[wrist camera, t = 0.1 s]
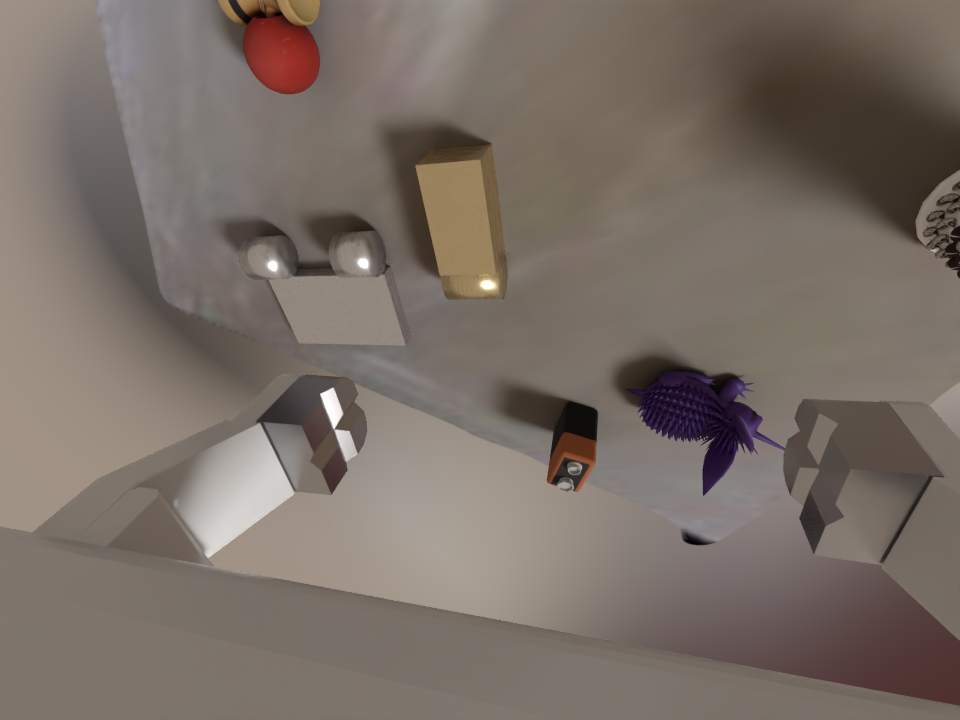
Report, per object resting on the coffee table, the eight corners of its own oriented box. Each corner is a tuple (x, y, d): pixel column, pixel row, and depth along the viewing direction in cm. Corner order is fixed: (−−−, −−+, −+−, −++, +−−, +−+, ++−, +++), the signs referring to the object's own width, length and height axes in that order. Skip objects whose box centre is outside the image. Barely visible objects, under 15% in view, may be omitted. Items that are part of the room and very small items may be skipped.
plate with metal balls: (306, 334, 65) (287, 356, 61) (257, 229, 55) (231, 248, 51) (411, 336, 60) (397, 360, 57) (377, 223, 51) (358, 242, 47)
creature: (762, 433, 57) (790, 520, 48) (615, 403, 60) (614, 481, 51) (799, 381, 52) (838, 470, 42) (634, 351, 54) (637, 428, 45)
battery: (553, 431, 66) (544, 489, 58) (567, 399, 61) (560, 458, 54) (582, 440, 65) (577, 500, 58) (599, 409, 61) (596, 469, 53)
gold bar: (459, 285, 54) (447, 308, 50) (432, 149, 45) (415, 165, 41) (509, 284, 52) (500, 308, 48) (492, 143, 43) (480, 159, 39)
